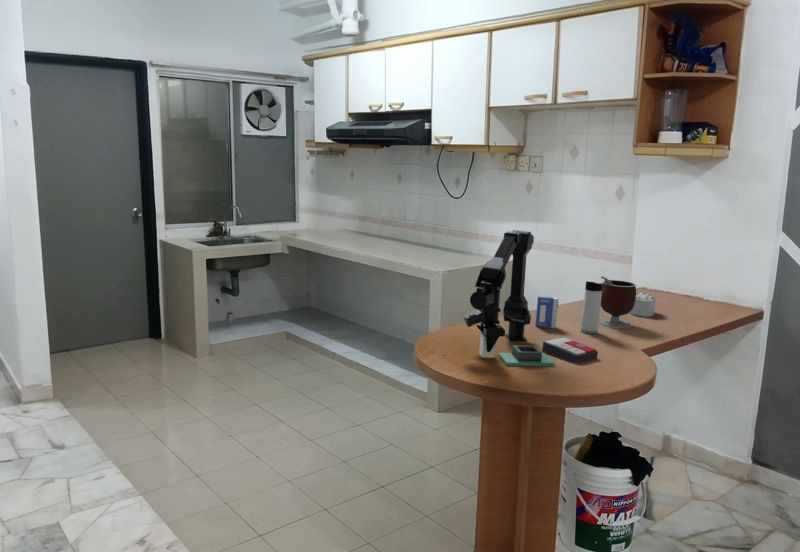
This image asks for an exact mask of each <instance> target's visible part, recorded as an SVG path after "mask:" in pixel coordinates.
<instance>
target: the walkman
mask: <svg viewBox="0 0 800 552" xmlns="http://www.w3.org/2000/svg"><path fill="white" fill-rule="evenodd" d="M558 309H559V297H555V296H554V297H551V296H537V303H536V312H535V313H536V315H535V327H536V328H537V327H538V328H550V329H556V327H557V319H558V318H557V317H558V316H557V315H558Z"/></svg>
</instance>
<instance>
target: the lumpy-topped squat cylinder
mask: <svg viewBox="0 0 800 552" xmlns="http://www.w3.org/2000/svg"><path fill="white" fill-rule="evenodd" d="M656 301H657V300H656V297H655V296H654V295H651V294H650V293H646V294H645V293H644V292H640V293H639V294H637V292H636V300H635V304H634V307H633V309H632V310H631V311H630V312H629V313H628V314H627V315H630V314H631V315H630V316H636V315H637V317H641V316H642V317H643V318H651V317H653V316H654V315H655V309H656Z"/></svg>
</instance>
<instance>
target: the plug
mask: <svg viewBox="0 0 800 552" xmlns="http://www.w3.org/2000/svg"><path fill="white" fill-rule="evenodd" d="M479 339H480V340H479V352H478V354H479V356H481V358H483V359H484V358H489V359H490V358H491V359H492V358H495V351H496V346H497V345H496V343H497V342H496V343H495V345H494V346H493V348H492V350H491V352H487V348H486V337H485V336H484V334H483V333H482V334H481V333H480V338H479Z"/></svg>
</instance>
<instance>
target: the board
mask: <svg viewBox="0 0 800 552" xmlns="http://www.w3.org/2000/svg"><path fill="white" fill-rule="evenodd" d="M498 357H499V359H500V360H501V361H502V362H503V363H504V365H505V366H506V367H507V366H509V367H510V366H513V367H515V366H517V367H519V366H521V367H525V366H526V367H527V366H528V367H529V366H530V367H555V366H556V362H555V361H554V360H553V359H552V358H551V357H549V355H547V353H546V352H543V351H542V350H540V349H539V348H538V347H537V346H536V345H512V352H498Z"/></svg>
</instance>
